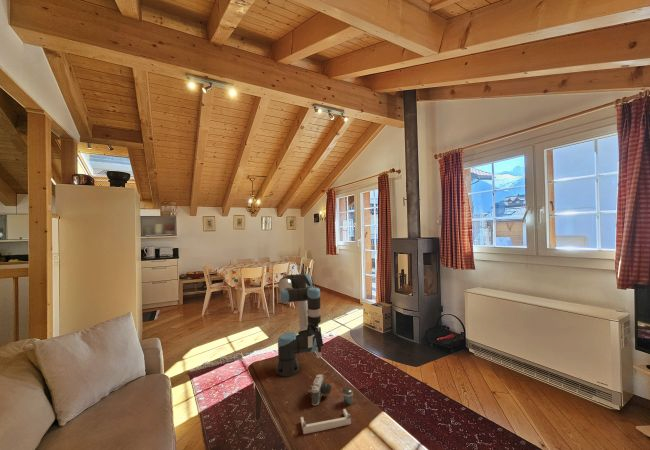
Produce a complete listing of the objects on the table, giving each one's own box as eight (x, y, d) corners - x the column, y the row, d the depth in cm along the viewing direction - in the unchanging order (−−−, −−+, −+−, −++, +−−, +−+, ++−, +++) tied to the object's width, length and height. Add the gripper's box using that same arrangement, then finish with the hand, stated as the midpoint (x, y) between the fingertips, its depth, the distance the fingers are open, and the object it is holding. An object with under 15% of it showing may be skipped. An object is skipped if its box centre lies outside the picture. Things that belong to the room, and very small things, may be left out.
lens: (341, 401, 149) (341, 388, 149) (351, 399, 150) (351, 386, 150) (344, 407, 144) (344, 393, 144) (354, 405, 145) (354, 392, 145)
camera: (309, 405, 146) (309, 385, 146) (316, 388, 162) (316, 370, 162) (327, 407, 144) (326, 387, 144) (332, 389, 160) (332, 371, 160)
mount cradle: (300, 422, 134) (300, 412, 134) (345, 413, 139) (345, 404, 139) (303, 434, 126) (303, 424, 126) (350, 424, 131) (350, 415, 131)
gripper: (300, 309, 170) (301, 344, 171) (316, 323, 148) (316, 363, 148) (312, 308, 173) (312, 342, 174) (329, 321, 151) (329, 360, 151)
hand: (314, 352), depth 161 cm, fingers open, 13 cm apart
